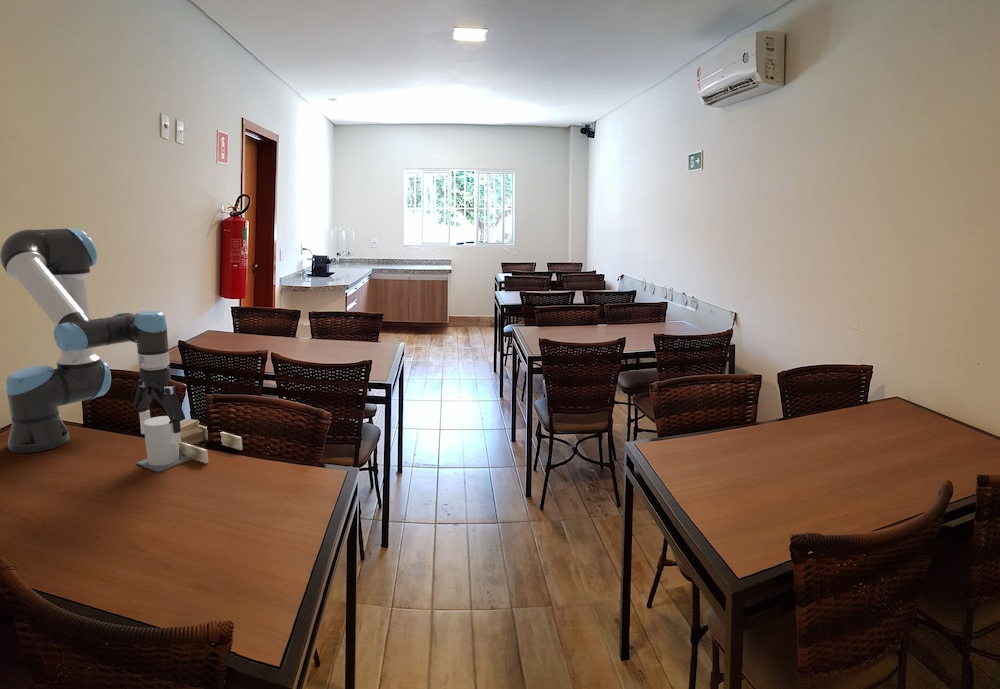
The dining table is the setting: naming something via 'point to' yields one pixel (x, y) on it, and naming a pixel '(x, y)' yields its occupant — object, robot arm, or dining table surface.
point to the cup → (159, 442)
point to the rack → (202, 453)
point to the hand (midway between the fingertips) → (160, 437)
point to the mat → (164, 467)
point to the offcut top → (188, 427)
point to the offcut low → (193, 438)
